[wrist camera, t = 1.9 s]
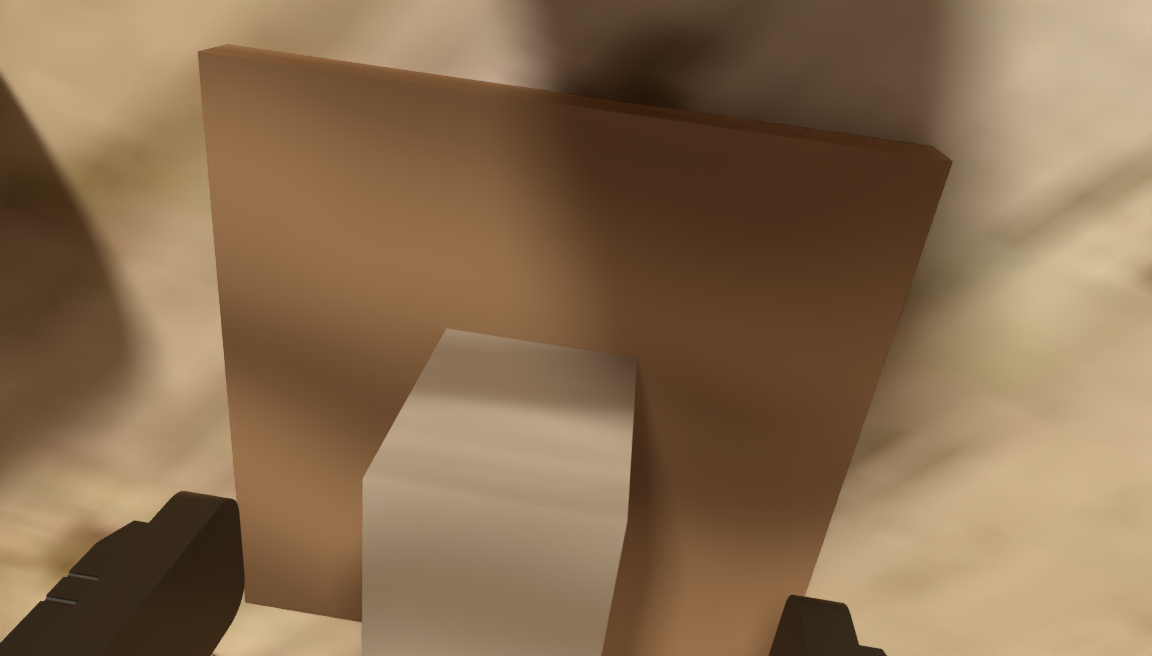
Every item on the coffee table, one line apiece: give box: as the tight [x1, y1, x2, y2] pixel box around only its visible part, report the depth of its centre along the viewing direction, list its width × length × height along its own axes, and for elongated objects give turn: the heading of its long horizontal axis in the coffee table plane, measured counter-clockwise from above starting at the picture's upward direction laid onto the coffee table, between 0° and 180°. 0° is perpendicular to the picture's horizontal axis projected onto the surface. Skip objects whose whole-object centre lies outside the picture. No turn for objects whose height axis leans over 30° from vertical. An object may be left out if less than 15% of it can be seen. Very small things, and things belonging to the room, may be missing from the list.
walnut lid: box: [198, 44, 953, 656], centre depth 14 cm, size 12×12×6 cm
